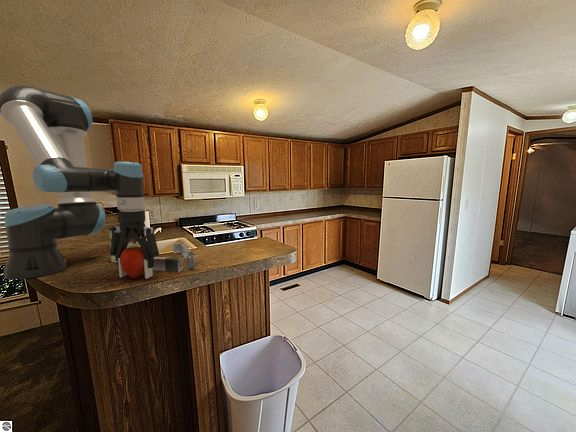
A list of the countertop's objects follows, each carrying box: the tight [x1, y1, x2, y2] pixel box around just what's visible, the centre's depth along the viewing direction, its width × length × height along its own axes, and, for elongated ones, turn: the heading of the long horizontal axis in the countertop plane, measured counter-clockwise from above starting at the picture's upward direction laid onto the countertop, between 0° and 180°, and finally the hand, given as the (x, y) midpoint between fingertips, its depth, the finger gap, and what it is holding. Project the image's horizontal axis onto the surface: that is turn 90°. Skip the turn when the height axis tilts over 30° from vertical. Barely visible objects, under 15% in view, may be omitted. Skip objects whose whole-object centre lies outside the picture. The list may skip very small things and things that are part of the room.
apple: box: [120, 245, 146, 279], centre depth 80 cm, size 9×8×11 cm
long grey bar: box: [152, 255, 195, 273], centre depth 89 cm, size 27×5×5 cm, turn 84°
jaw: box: [172, 242, 196, 266], centre depth 101 cm, size 23×4×4 cm, turn 34°
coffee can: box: [107, 224, 140, 263], centre depth 99 cm, size 10×10×14 cm
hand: (136, 276), depth 81 cm, fingers closed on apple, 8 cm apart
